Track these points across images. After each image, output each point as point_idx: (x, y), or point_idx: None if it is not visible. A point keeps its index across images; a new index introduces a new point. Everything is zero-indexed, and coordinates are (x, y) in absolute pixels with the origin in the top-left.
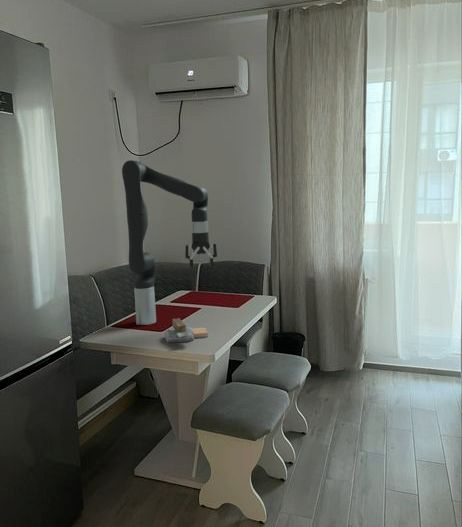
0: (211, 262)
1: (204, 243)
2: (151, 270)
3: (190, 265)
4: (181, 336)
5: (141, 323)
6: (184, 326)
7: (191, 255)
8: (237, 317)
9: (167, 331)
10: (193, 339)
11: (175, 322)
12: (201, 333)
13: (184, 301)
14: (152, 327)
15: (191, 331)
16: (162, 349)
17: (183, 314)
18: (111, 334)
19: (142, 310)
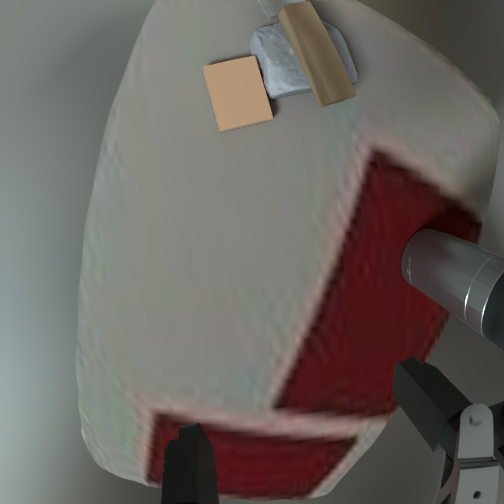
0: (180, 460)
1: None
2: None
3: (431, 370)
4: None
5: (435, 230)
6: (287, 5)
7: (492, 447)
8: (126, 312)
9: (349, 66)
10: (250, 40)
11: (333, 45)
12: (226, 61)
13: (323, 448)
14: (405, 201)
15: (263, 45)
16: None
17: (324, 347)
18: (474, 151)
19: (459, 240)
